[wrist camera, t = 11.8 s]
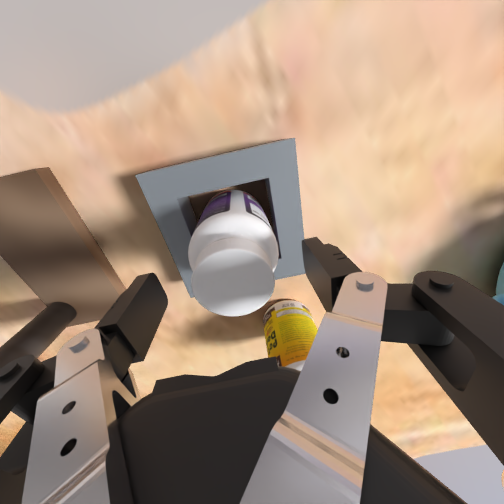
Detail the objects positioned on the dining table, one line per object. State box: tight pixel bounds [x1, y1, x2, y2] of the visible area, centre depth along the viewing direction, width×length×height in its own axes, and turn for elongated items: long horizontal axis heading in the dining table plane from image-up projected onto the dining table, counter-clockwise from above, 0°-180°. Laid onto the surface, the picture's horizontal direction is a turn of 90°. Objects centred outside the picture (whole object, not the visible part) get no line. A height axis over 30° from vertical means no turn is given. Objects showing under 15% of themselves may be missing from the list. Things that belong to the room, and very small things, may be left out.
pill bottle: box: [188, 190, 279, 316], centre depth 14 cm, size 5×5×10 cm
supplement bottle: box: [263, 300, 318, 371], centre depth 20 cm, size 6×6×10 cm
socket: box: [135, 138, 305, 298], centre depth 17 cm, size 10×10×3 cm
